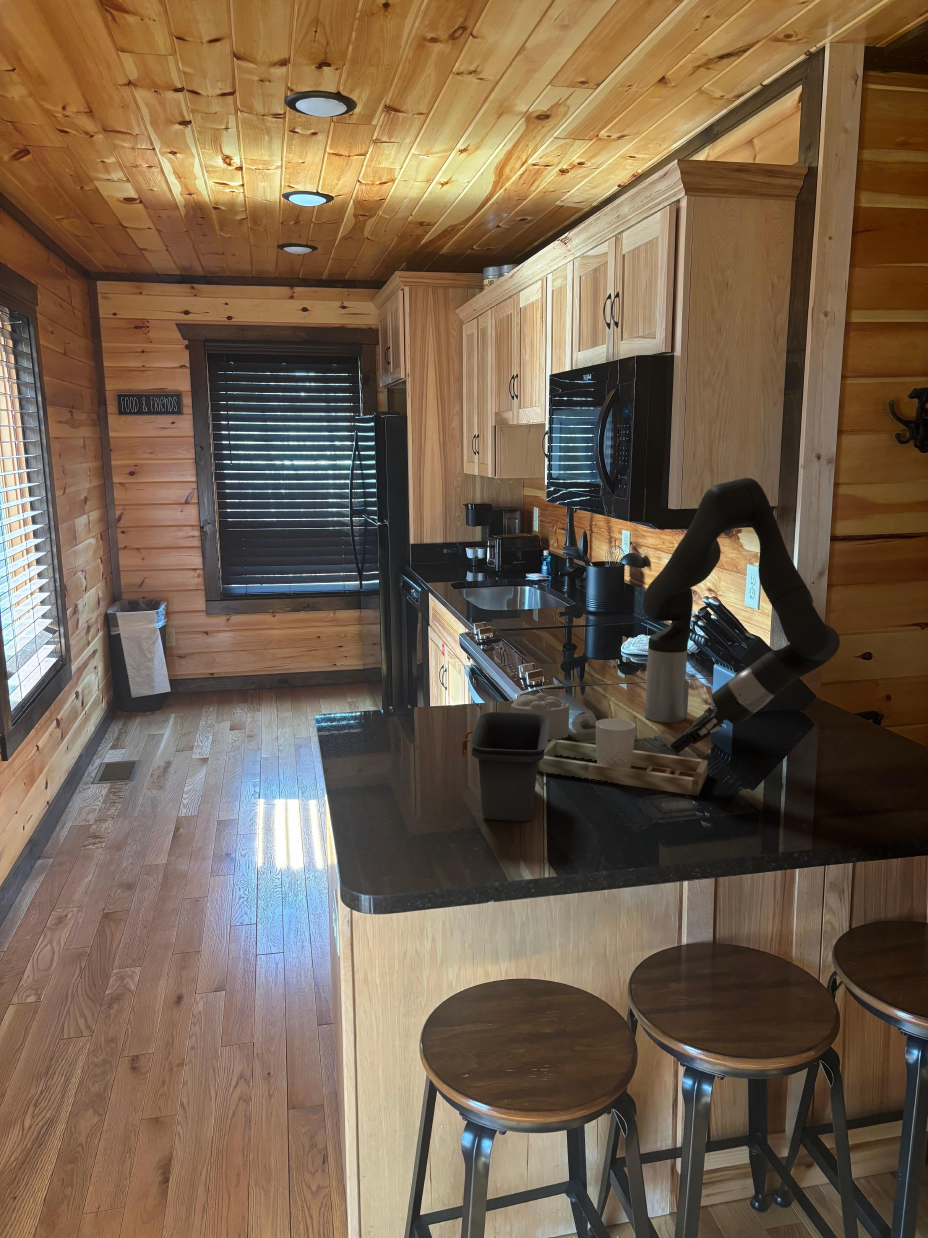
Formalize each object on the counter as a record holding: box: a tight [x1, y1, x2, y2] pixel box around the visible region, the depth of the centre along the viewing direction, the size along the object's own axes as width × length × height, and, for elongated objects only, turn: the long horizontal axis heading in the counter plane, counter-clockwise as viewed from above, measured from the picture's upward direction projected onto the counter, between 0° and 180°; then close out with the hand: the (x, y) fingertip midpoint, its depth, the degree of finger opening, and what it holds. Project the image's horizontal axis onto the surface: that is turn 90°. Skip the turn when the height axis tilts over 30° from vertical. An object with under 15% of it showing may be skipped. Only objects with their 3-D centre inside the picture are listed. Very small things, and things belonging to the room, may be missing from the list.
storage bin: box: [461, 711, 550, 822], centre depth 162 cm, size 21×16×14 cm
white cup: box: [595, 718, 637, 769], centre depth 179 cm, size 8×8×10 cm
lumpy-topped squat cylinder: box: [510, 692, 570, 740], centre depth 204 cm, size 10×13×9 cm
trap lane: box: [537, 739, 709, 797], centre depth 179 cm, size 32×12×3 cm, turn 67°
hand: (674, 749), depth 175 cm, fingers closed
